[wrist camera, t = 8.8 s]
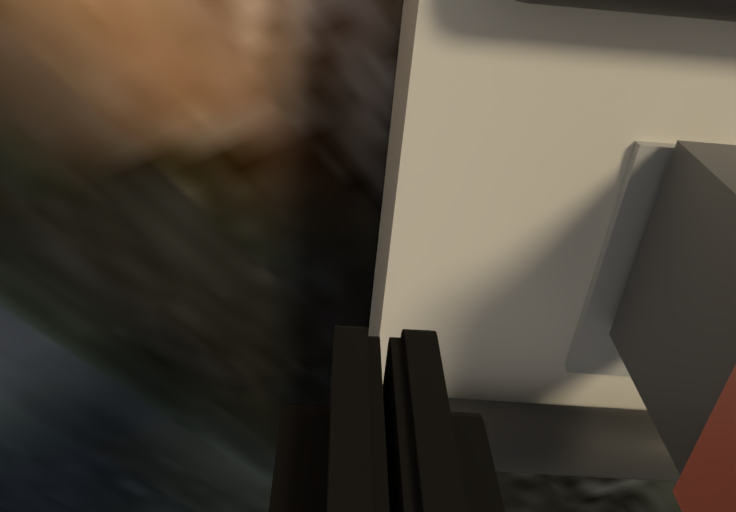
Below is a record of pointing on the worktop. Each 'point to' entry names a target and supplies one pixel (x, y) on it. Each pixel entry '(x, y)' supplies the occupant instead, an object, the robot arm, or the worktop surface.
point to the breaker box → (541, 207)
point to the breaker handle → (688, 323)
